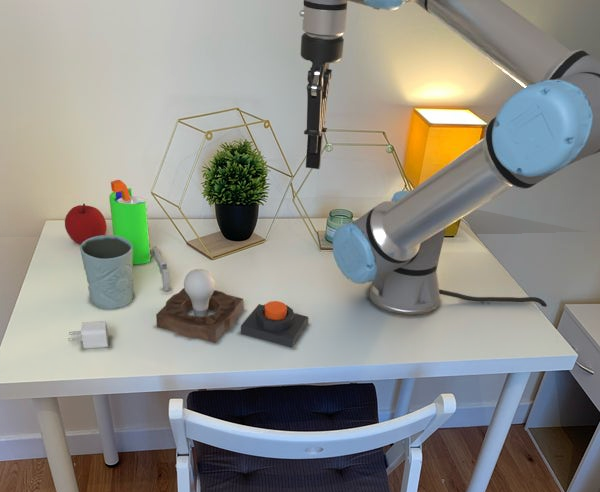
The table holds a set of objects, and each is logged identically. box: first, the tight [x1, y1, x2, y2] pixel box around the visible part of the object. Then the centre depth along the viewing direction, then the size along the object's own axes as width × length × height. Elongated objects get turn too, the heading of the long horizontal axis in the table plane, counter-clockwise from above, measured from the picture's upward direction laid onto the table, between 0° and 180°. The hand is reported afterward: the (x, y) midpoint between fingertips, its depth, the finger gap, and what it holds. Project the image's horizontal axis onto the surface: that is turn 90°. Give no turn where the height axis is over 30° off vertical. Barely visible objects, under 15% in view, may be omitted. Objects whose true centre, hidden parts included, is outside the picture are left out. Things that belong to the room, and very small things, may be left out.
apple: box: [64, 203, 108, 245], centre depth 153 cm, size 9×9×10 cm
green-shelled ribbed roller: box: [108, 179, 152, 265], centre depth 147 cm, size 9×8×18 cm
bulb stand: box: [155, 287, 245, 344], centre depth 133 cm, size 14×14×3 cm
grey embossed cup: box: [79, 234, 134, 310], centre depth 134 cm, size 10×10×12 cm
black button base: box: [240, 303, 309, 348], centre depth 132 cm, size 11×9×4 cm
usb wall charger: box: [67, 320, 109, 350], centre depth 124 cm, size 4×7×4 cm, turn 102°
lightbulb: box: [183, 268, 216, 317], centre depth 131 cm, size 6×6×11 cm
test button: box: [264, 300, 288, 320], centre depth 130 cm, size 4×4×2 cm
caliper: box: [151, 245, 170, 292], centre depth 147 cm, size 21×1×6 cm, turn 17°
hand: (312, 166), depth 131 cm, fingers closed
